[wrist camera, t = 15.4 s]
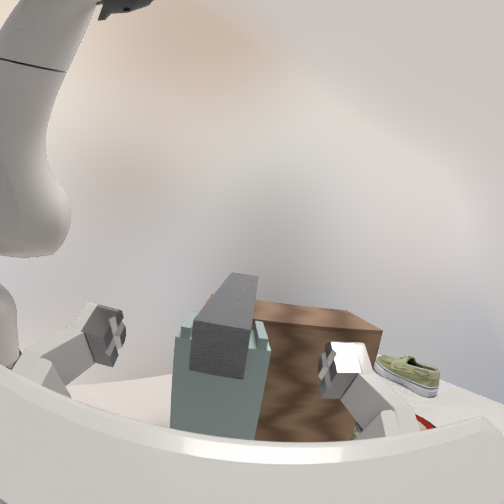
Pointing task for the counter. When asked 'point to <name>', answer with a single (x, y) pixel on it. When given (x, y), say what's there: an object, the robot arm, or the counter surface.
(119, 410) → the counter surface
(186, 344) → the socket post
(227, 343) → the bar
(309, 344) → the brown wooden block
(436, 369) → the boat shoe
